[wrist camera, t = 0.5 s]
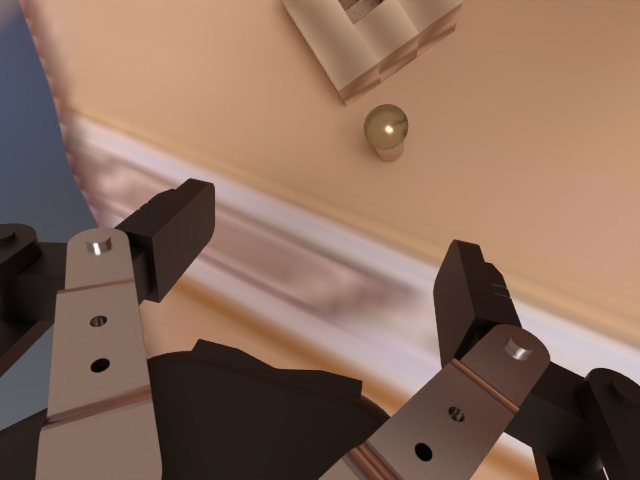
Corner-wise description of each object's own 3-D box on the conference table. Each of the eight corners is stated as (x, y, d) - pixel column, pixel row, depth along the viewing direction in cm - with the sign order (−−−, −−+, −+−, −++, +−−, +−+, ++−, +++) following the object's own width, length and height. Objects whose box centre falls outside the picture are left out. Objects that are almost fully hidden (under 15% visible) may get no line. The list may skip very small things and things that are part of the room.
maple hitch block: (386, -74, 36) (384, -119, 31) (454, 30, 35) (462, 1, 30) (285, 8, 38) (268, -21, 33) (346, 106, 38) (338, 91, 33)
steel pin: (395, 125, 37) (393, 95, 27) (412, 152, 37) (416, 132, 27) (367, 144, 38) (356, 121, 28) (384, 170, 37) (378, 157, 28)
